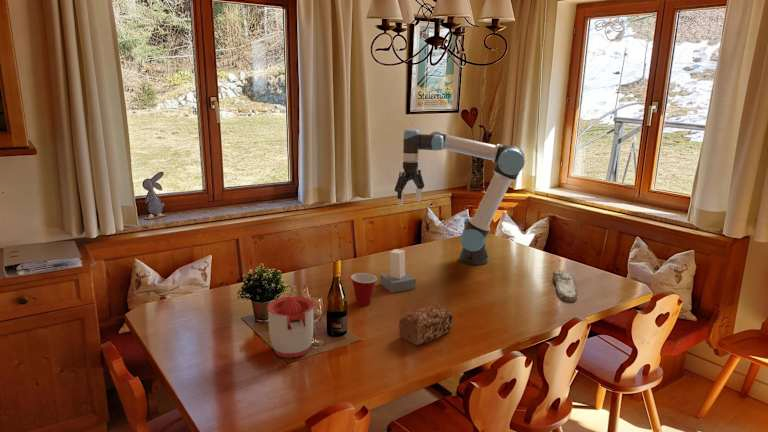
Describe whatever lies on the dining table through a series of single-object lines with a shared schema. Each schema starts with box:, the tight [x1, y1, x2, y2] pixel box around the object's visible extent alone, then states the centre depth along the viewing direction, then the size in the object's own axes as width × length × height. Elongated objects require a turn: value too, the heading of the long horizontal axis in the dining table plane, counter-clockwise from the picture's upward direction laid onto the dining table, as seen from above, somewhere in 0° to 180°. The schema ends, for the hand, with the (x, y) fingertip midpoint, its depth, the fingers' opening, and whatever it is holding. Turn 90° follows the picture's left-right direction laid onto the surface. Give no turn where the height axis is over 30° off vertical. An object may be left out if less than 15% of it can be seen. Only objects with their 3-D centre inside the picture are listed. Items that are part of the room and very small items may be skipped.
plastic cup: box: [350, 272, 378, 307], centre depth 223 cm, size 11×11×12 cm
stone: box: [552, 269, 578, 303], centre depth 245 cm, size 35×5×10 cm
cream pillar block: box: [389, 248, 406, 279], centre depth 242 cm, size 5×5×12 cm
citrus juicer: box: [266, 296, 315, 359], centre depth 181 cm, size 16×17×20 cm
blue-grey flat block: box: [379, 271, 417, 293], centre depth 244 cm, size 12×12×5 cm
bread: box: [398, 304, 453, 346], centre depth 197 cm, size 19×11×10 cm, turn 131°
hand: (409, 203), depth 268 cm, fingers open, 13 cm apart
